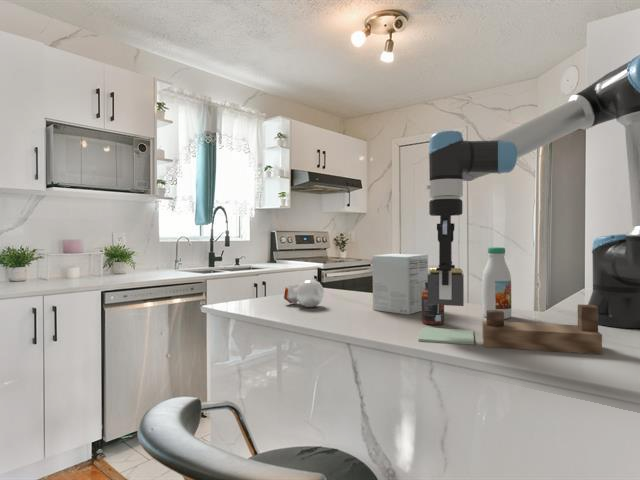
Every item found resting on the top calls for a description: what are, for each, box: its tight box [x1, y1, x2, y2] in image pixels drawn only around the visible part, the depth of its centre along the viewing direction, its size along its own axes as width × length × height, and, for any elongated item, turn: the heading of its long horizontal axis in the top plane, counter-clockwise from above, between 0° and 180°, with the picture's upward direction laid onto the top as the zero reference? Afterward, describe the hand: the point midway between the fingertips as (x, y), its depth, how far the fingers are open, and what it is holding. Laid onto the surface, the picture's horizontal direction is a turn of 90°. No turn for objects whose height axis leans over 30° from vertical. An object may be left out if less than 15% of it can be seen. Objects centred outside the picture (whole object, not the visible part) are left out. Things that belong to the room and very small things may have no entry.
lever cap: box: [428, 267, 465, 307], centre depth 101 cm, size 8×5×8 cm, turn 72°
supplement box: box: [371, 253, 429, 315], centre depth 136 cm, size 13×13×18 cm
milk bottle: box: [481, 246, 512, 320], centre depth 123 cm, size 8×8×20 cm
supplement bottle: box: [421, 281, 445, 326], centre depth 116 cm, size 6×6×11 cm
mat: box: [417, 326, 475, 346], centre depth 102 cm, size 12×12×1 cm
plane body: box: [482, 304, 603, 355], centre depth 93 cm, size 22×8×9 cm, turn 72°
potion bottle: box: [283, 278, 325, 308], centre depth 145 cm, size 9×10×15 cm
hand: (445, 297), depth 101 cm, fingers closed on lever cap, 5 cm apart
